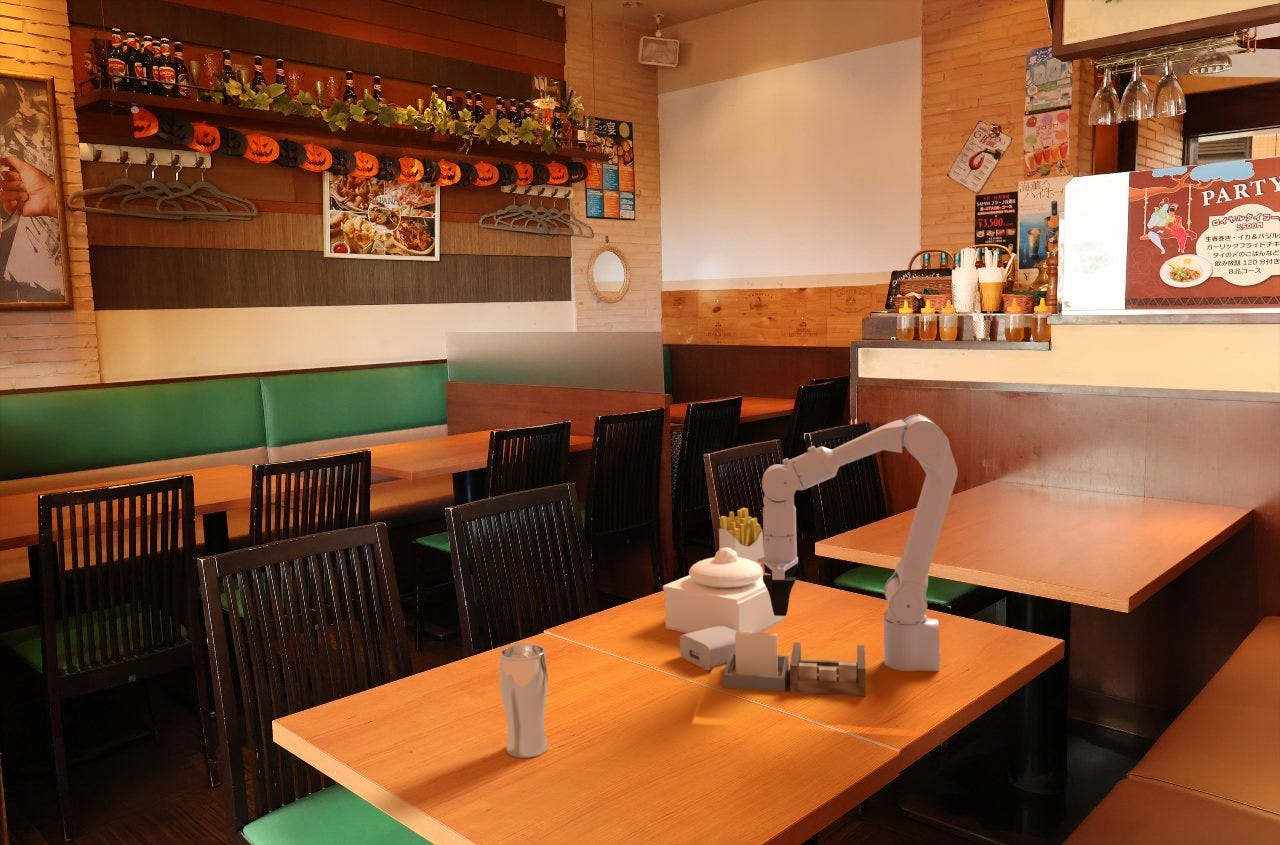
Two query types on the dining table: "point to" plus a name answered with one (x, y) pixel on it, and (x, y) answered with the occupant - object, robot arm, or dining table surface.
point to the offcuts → (829, 672)
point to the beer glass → (524, 698)
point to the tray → (755, 677)
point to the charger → (708, 646)
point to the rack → (827, 686)
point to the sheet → (756, 653)
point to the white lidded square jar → (720, 596)
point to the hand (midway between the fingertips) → (781, 608)
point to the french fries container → (742, 536)
